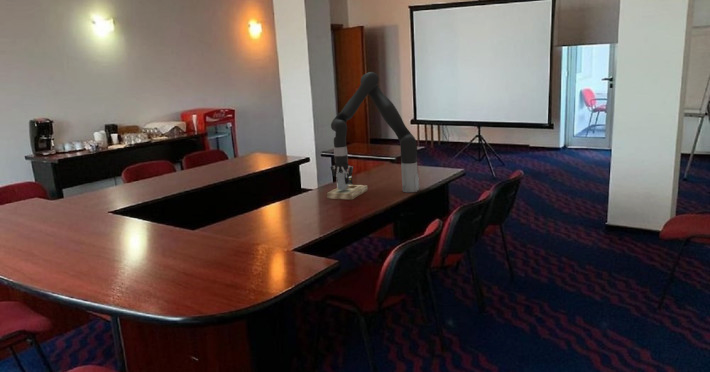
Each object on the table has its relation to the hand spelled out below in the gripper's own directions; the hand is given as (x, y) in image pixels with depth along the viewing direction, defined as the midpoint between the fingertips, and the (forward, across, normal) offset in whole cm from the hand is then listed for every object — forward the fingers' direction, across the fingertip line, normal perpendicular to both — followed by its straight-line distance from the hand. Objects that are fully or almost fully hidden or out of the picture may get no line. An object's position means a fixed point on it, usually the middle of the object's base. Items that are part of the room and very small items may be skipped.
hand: (343, 183), depth 326 cm
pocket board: (+9, 0, -5) cm, 10 cm away
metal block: (+3, 0, 0) cm, 3 cm away
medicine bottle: (+9, +10, -22) cm, 26 cm away
